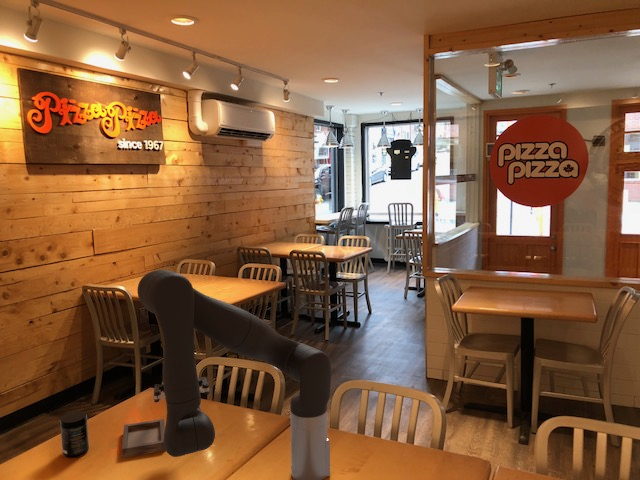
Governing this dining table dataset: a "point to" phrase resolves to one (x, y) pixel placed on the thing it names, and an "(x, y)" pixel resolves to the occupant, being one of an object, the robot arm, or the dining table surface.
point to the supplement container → (74, 434)
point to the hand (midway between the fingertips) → (179, 378)
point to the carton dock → (143, 438)
